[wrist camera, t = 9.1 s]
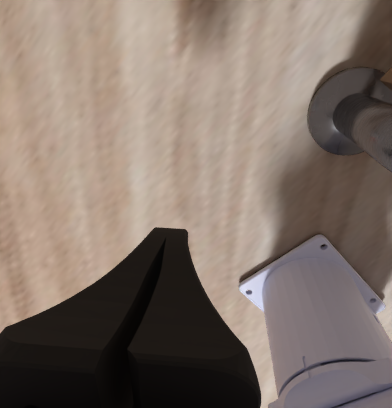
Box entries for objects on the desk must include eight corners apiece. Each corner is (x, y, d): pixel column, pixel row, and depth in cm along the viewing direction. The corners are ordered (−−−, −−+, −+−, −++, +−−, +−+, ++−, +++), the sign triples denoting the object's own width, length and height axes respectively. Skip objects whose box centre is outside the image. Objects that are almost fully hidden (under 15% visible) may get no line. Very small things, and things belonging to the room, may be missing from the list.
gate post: (410, 114, 18) (518, 157, 12) (336, 167, 20) (392, 229, 14) (367, 46, 17) (463, 51, 10) (290, 110, 19) (329, 149, 12)
